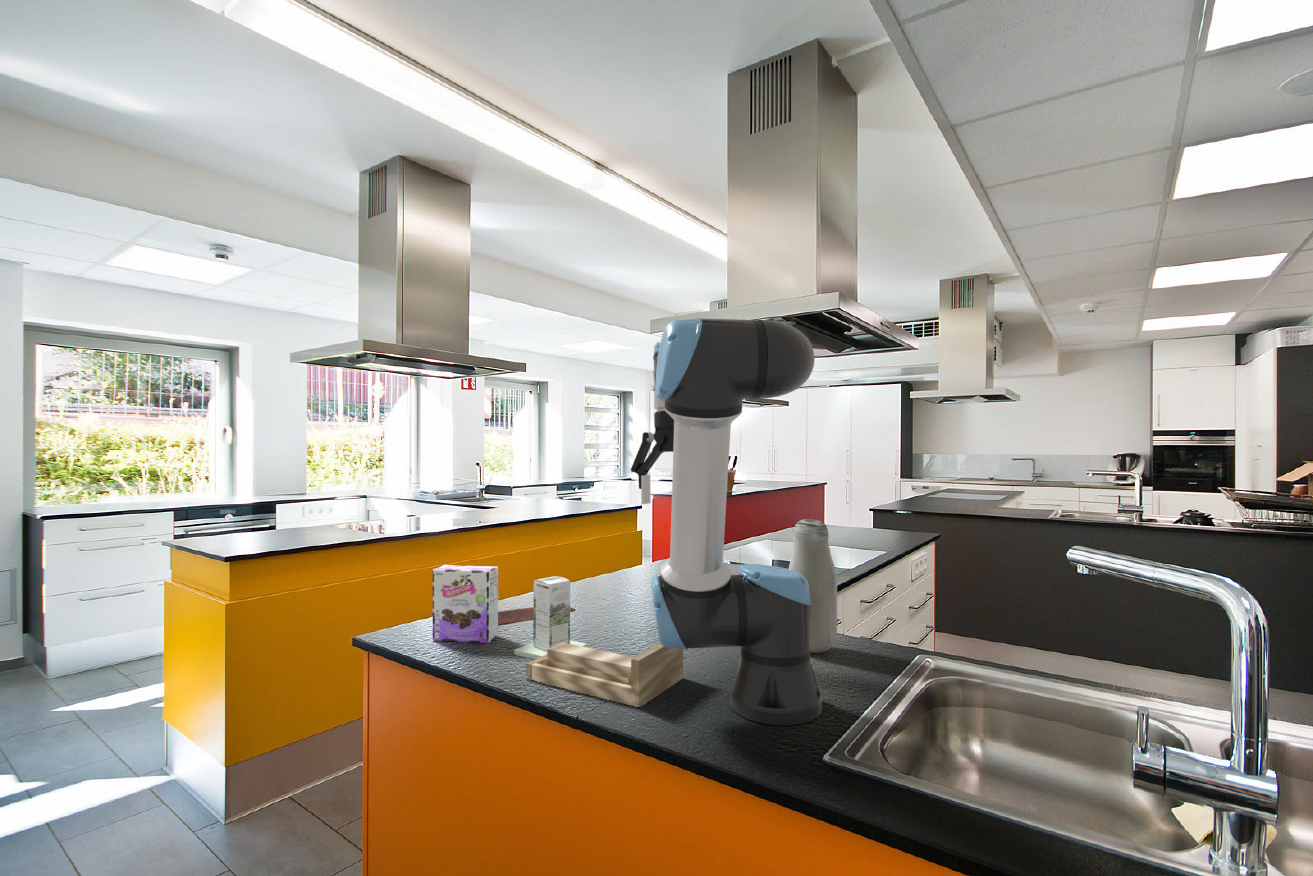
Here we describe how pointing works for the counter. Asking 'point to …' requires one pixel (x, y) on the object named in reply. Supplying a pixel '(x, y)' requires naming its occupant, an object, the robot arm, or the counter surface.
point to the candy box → (465, 603)
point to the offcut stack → (590, 662)
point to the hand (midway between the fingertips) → (671, 505)
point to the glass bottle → (817, 580)
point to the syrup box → (551, 612)
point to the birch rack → (647, 682)
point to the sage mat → (538, 650)
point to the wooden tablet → (517, 615)
